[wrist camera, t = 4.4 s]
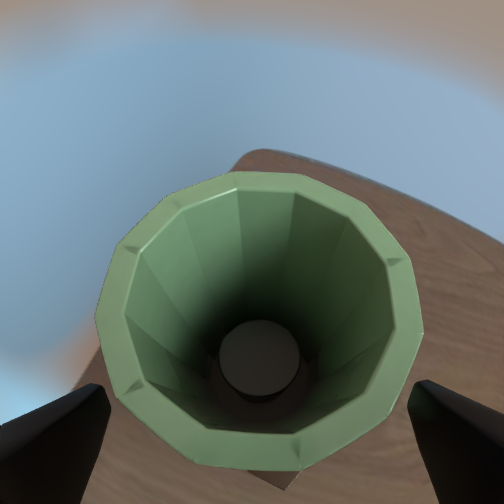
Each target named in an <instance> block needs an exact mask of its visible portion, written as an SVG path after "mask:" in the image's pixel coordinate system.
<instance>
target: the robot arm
mask: <svg viewBox="0 0 504 504" xmlns="http://www.w3.org/2000/svg"><path fill="white" fill-rule="evenodd" d="M407 409H408V413H409V416H410V419H411V423H412V426H413V430H414V433H415V437H416V441H417V444H418V447H419V450H420V453H421V455H422V458H423V461H424V463H425V466H426V468H427V471H428V474H429V476H430V479H431V482H432V484H433V487H434V490H435V493H436V496H437V498H438V501H439V504H504V414H502V413H500V412H498V411H495V410H493V409H491V408H489V407H486V406H484V405H482V404H480V403H477V402H475V401H473V400H471V399H469V398H466V397H464V396H462V395H460V394H458V393H456V392H453V391H451V390H449V389H447V388H445V387H443V386H441V385H438V384H436V383H434V382H432V381H430V380H422V381H418V382H416V383H415V384H414V386H413V389H412V392H411V395H410V397H409V400H408V404H407ZM110 414H111V405H110V402H109V400H108V397H107V394H106V392H105V389H104V387H103V386H101V385H98V384H93V383H90V384H87V385H85V386H83V387H81V388H79V389H77V390H75V391H73V392H71V393H69V394H67V395H65V396H63V397H61V398H59V399H57V400H55V401H52V402H50V403H48V404H46V405H44V406H42V407H40V408H38V409H35V410H33V411H31V412H29V413H27V414H24V415H22V416H20V417H18V418H15V419H13V420H11V421H9V422H7V423H4V424H2V426H1V425H0V504H80V502H81V500H82V497H83V494H84V491H85V489H86V486H87V483H88V481H89V478H90V475H91V473H92V470H93V468H94V465H95V463H96V460H97V458H98V455H99V452H100V449H101V446H102V442H103V438H104V435H105V431H106V428H107V424H108V421H109V417H110Z"/></svg>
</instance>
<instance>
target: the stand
mask: <svg viewBox="0 0 504 504" xmlns="http://www.w3.org/2000/svg"><path fill="white" fill-rule="evenodd" d="M211 385H212V387H213V389H214V391H215V393H216V395H217V398H218V400H219V402H220V404H221V406H223V407H224V408H226V409H227V410H229V411H230V412H232V413H233V414H235V415H236V416H238V417H239V418H241V419H243V420H254V421H271V420H273V419H275V418H278V417H280V416H282V415H284V414H286V413H288V412H290V411H292V410H293V409H294V408H295V406H296V405H297V403H298V402H299V400H300V399H301V397H302V395H303V394H304V392H305V391H306V389H307V363H306V361H305V359H304V358H303V356H302V354H301V351H300V347H299V344H298V342H297V340H296V338H295V337H294V335H293V334H292V333H291V332H290V331H289V330H288V329H287V328H286V327H284V326H283V325H281V324H279V323H277V322H275V321H272V320H267V319H252V320H248V321H245V322H242V323H240V324H238V325H237V326H235V327H234V328H232V329H231V330H230V331H229V332H228V333H227V335H226V336H225V337H224V339H223V341H222V343H221V345H220V348H219V352H218V354H217V355H216V356H215V358H214V359H213V367H212V376H211ZM246 471H248V472H250V473H252V474H253V475H255V476H257V477H259V478H261V479H262V480H264V481H266V482H268V483H270V484H272V485H274V486H276V487H278V488H280V489H282V490H284V491H286V490H287V489H288V488H289V486H290V485H291V484H292V482H293V481H294V480H295V479H296V477H297V476H298V475H299V473H300V472H301V471H302V470H301V471H254V470H246Z"/></svg>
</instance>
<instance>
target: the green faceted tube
mask: <svg viewBox="0 0 504 504" xmlns="http://www.w3.org/2000/svg"><path fill="white" fill-rule="evenodd" d="M252 319H267V320H272V321H275V322H277V323H279V324H281V325H283V326H284V327H286V328H287V329H288V330H289V331H290V332H291V333H292V334H293V335H294V337H295V338H296V340H297V342H298V344H299V347H300V351H301V354H302V356H303V358H304V359H305V361H306V363H307V389H306V391H305V392H304V394H303V395H302V397H301V399H300V400H299V402H298V403H297V405H296V406H295V408H294V409H293V410H292V411H290V412H288V413H286V414H284V415H282V416H280V417H278V418H275V419H273V420H271V421H254V420H243V419H241V418H239V417H238V416H236V415H235V414H233V413H232V412H230V411H229V410H227V409H226V408H224V407H223V406H221V404H220V402H219V400H218V398H217V395H216V393H215V391H214V389H213V387H212V385H211V376H212V367H213V359H214V358H215V356H216V355H217V354H218V352H219V348H220V345H221V343H222V341H223V339H224V337H225V336H226V335H227V333H228V332H229V331H230V330H231V329H232V328H234V327H235V326H237V325H238V324H240V323H242V322H245V321H248V320H252ZM95 323H96V327H97V332H98V336H99V341H100V345H101V349H102V353H103V357H104V360H105V364H106V368H107V371H108V374H109V378H110V381H111V384H112V388H113V391H114V394H115V397H116V399H118V400H119V401H120V403H121V404H122V405H123V406H124V407H125V408H126V409H127V410H129V411H130V412H131V413H132V414H133V415H134V416H135V417H136V418H137V419H138V420H139V421H141V422H142V423H143V424H144V425H145V426H146V427H147V428H149V429H150V430H151V431H152V432H153V433H155V434H156V435H157V436H158V437H159V438H161V439H162V440H163V441H164V442H166V443H167V444H168V445H169V446H171V447H172V448H173V449H175V450H176V451H177V452H178V453H180V454H181V455H183V456H184V457H185V458H187V459H188V460H189V461H192V462H193V463H195V464H199V465H206V466H213V467H221V468H230V469H241V470H254V471H301V470H304V469H306V468H308V467H310V466H312V465H314V464H316V463H318V462H320V461H322V460H323V459H325V458H327V457H329V456H330V455H332V454H334V453H336V452H337V451H339V450H341V449H342V448H344V447H346V446H347V445H349V444H350V443H352V442H354V441H355V440H357V439H358V438H360V437H361V436H363V435H364V434H366V433H367V432H369V431H370V430H372V429H373V428H374V427H376V426H377V425H379V424H380V423H381V422H383V421H384V420H386V418H387V417H388V415H389V414H390V413H391V411H392V409H393V407H394V405H395V403H396V401H397V399H398V397H399V394H400V392H401V390H402V388H403V386H404V383H405V381H406V379H407V376H408V374H409V372H410V369H411V367H412V364H413V362H414V359H415V357H416V354H417V351H418V349H419V346H420V343H421V340H422V337H423V335H424V329H423V322H422V315H421V309H420V303H419V297H418V292H417V287H416V282H415V277H414V272H413V268H412V263H411V259H410V258H409V256H408V255H407V253H406V252H405V251H404V250H403V248H402V247H401V246H400V244H399V243H398V242H397V241H396V240H395V238H394V237H393V236H392V235H391V233H390V232H389V231H388V230H387V229H386V227H385V226H384V225H383V224H382V223H381V221H380V220H379V219H378V218H377V217H376V216H375V214H374V213H373V212H372V211H371V210H370V209H369V208H368V206H367V205H366V204H364V203H363V202H361V201H359V200H357V199H355V198H353V197H351V196H349V195H347V194H345V193H342V192H340V191H338V190H336V189H334V188H332V187H330V186H327V185H325V184H323V183H321V182H319V181H316V180H314V179H312V178H310V177H307V176H305V175H301V174H294V173H274V172H244V171H235V172H229V173H226V174H223V175H220V176H218V177H214V178H212V179H209V180H206V181H204V182H201V183H198V184H195V185H192V186H190V187H187V188H184V189H182V190H180V191H177V192H174V193H172V194H170V195H167V196H166V197H165V198H164V199H162V200H161V201H160V202H159V203H158V204H157V205H156V206H155V207H154V208H153V209H152V210H151V211H150V212H149V213H148V214H147V215H146V216H145V217H144V218H143V219H142V220H141V221H140V222H138V223H137V225H136V226H134V227H133V228H132V229H131V230H130V231H129V233H128V234H127V235H126V236H125V237H124V238H123V239H122V240H121V241H120V242H119V243H118V245H117V246H116V248H115V251H114V254H113V257H112V260H111V262H110V266H109V269H108V272H107V275H106V278H105V281H104V284H103V288H102V291H101V294H100V298H99V302H98V305H97V308H96V312H95Z"/></svg>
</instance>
